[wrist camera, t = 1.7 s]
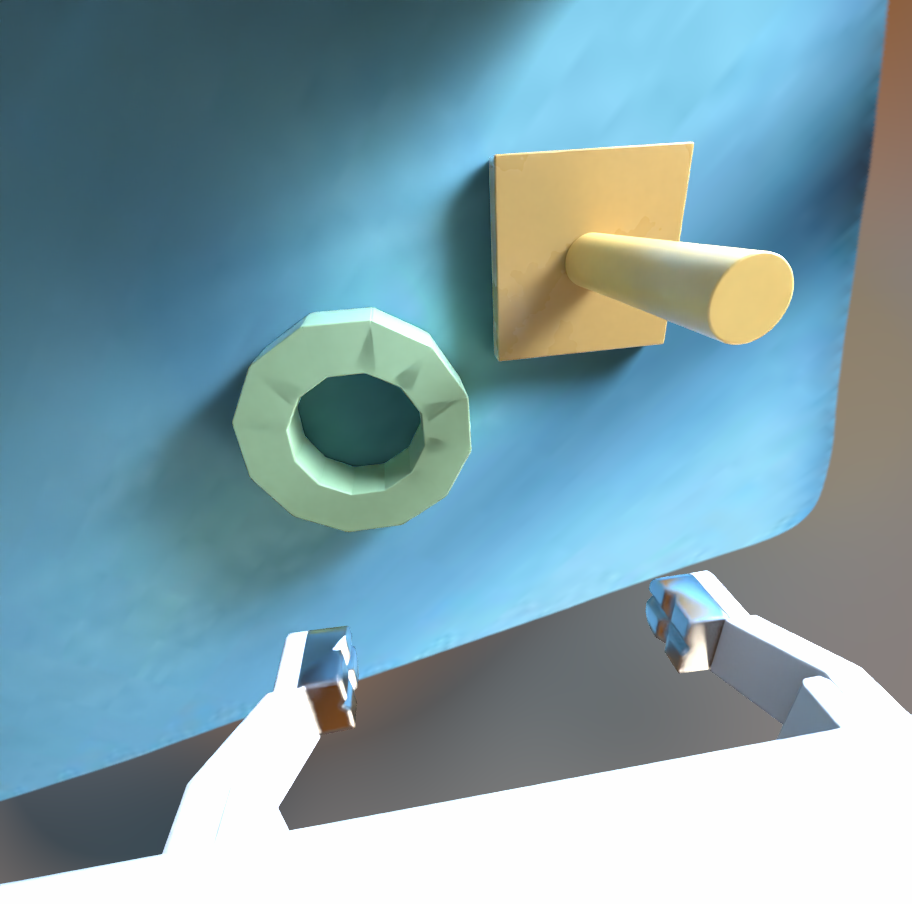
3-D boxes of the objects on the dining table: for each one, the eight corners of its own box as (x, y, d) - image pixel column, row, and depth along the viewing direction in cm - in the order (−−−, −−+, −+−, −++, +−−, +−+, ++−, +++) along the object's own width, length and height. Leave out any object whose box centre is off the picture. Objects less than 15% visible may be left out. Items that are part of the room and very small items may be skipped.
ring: (281, 511, 27) (270, 543, 25) (224, 320, 22) (202, 335, 19) (466, 486, 28) (475, 515, 26) (454, 298, 23) (463, 310, 20)
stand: (493, 355, 25) (577, 467, 14) (488, 157, 20) (603, 98, 10) (652, 338, 25) (847, 432, 15) (680, 144, 21) (983, 77, 10)
